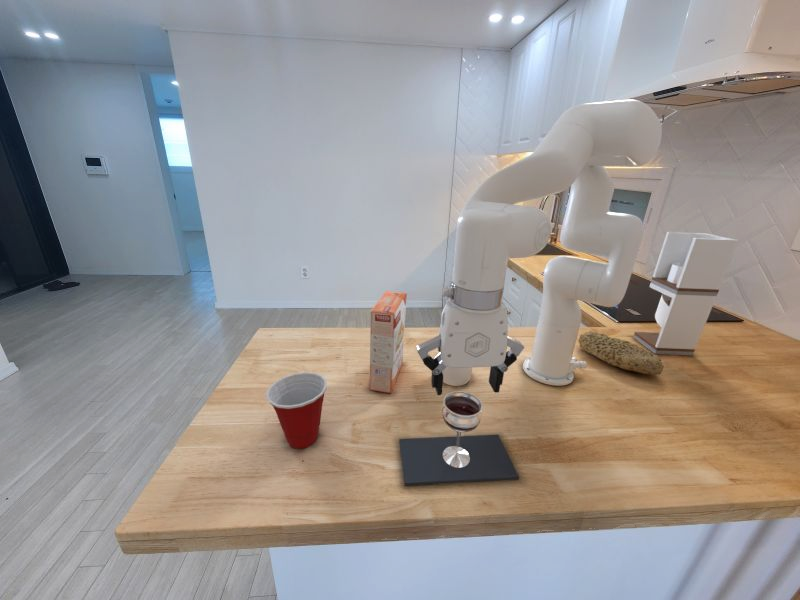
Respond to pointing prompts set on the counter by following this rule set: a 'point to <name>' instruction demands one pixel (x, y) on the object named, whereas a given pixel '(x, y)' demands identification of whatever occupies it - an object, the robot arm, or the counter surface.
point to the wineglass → (460, 423)
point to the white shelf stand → (686, 289)
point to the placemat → (430, 467)
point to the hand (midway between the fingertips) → (465, 388)
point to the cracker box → (387, 340)
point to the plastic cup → (298, 406)
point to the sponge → (621, 353)
